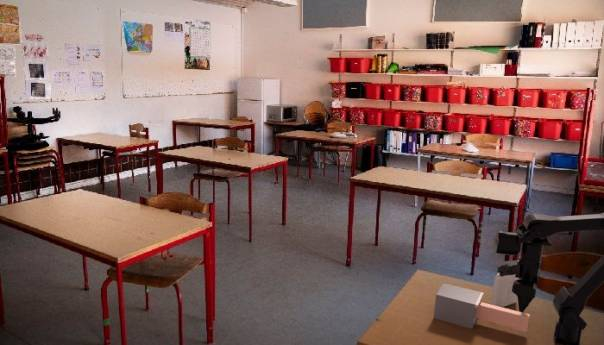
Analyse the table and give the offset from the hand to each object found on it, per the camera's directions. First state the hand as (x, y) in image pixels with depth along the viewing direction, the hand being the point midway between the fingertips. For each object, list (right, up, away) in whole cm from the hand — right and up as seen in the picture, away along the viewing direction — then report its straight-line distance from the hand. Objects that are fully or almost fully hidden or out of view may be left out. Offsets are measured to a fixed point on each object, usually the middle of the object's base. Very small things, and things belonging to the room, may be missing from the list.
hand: (522, 305), depth 151 cm
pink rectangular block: (-5, -6, +4) cm, 9 cm away
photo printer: (+3, -5, +22) cm, 22 cm away
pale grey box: (-17, -6, +11) cm, 21 cm away
